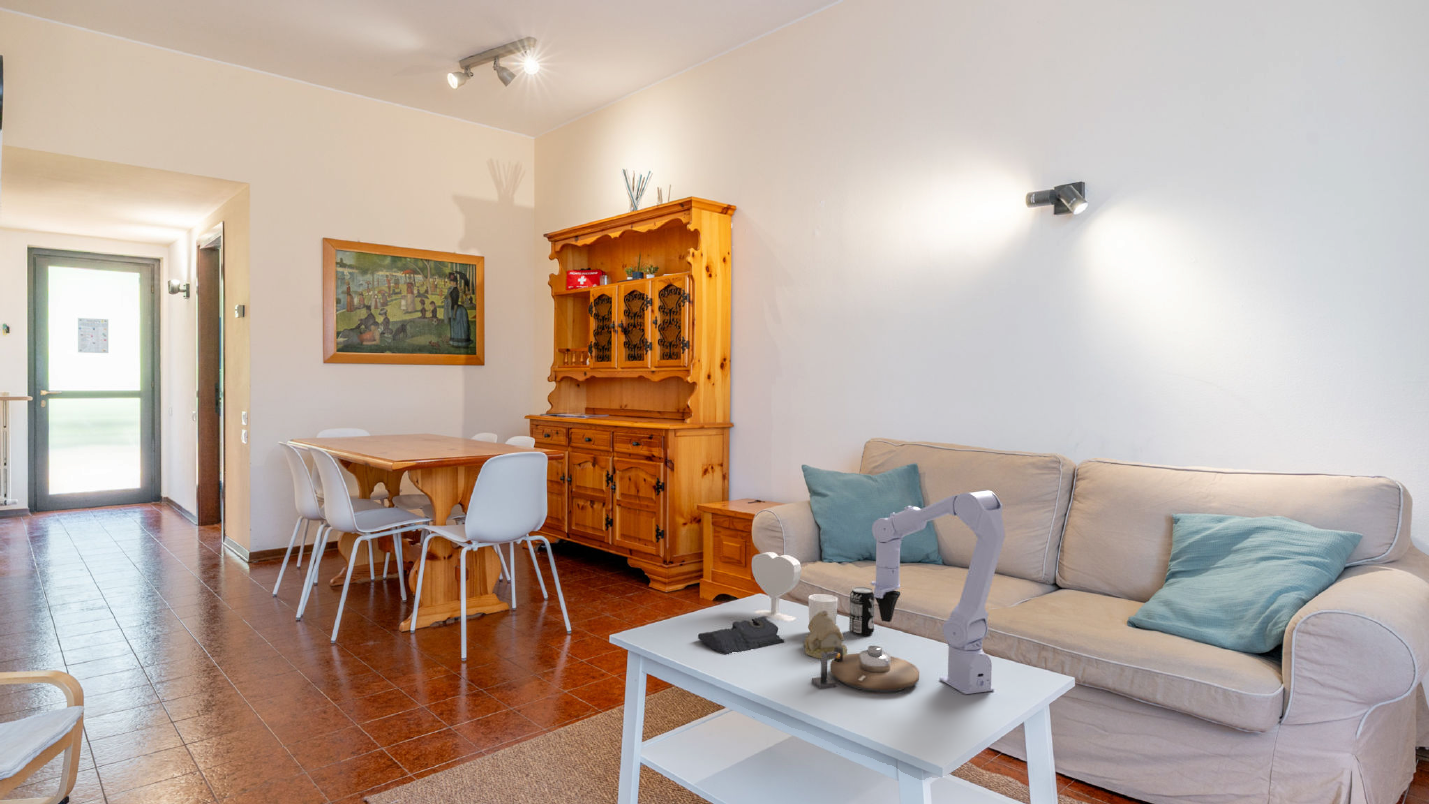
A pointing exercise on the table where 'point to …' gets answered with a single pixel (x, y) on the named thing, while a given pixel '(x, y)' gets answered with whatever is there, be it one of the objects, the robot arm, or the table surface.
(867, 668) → the cover
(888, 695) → the table surface
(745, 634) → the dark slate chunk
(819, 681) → the grey bent lever
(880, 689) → the turntable base
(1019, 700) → the table surface
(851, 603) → the beverage can
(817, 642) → the ceramic model
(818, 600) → the white cup
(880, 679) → the turntable
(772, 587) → the heart sculpture
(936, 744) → the table surface
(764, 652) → the table surface
